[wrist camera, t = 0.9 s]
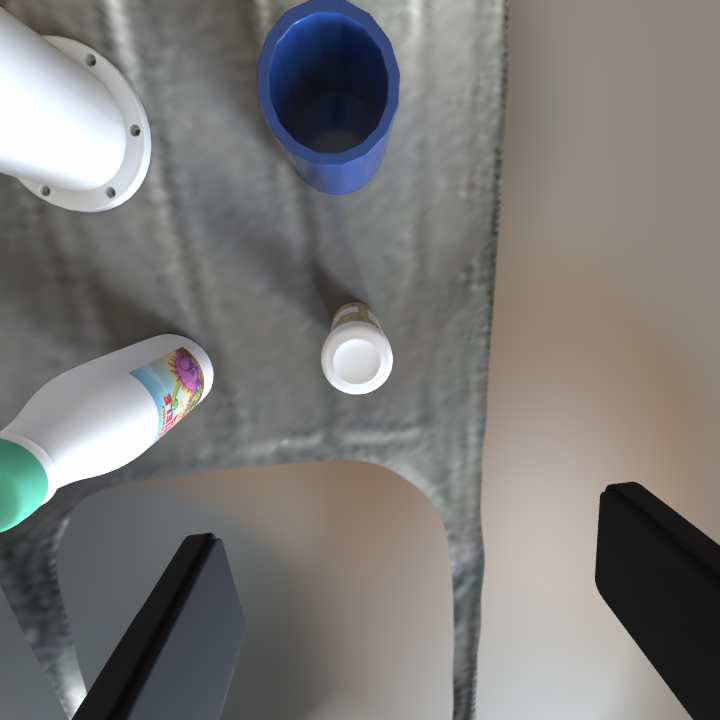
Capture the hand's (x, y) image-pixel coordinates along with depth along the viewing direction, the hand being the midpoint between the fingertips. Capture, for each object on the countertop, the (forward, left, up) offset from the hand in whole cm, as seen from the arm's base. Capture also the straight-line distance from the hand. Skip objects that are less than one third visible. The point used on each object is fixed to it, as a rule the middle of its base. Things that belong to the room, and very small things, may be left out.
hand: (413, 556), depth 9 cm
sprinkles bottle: (-1, +1, -28) cm, 28 cm away
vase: (-3, +17, -27) cm, 32 cm away
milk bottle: (-19, -4, -28) cm, 34 cm away
